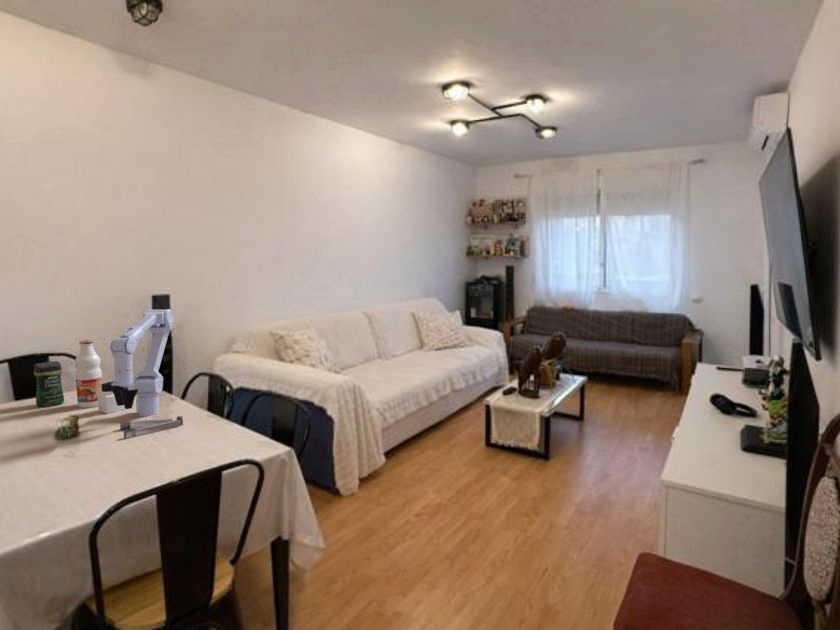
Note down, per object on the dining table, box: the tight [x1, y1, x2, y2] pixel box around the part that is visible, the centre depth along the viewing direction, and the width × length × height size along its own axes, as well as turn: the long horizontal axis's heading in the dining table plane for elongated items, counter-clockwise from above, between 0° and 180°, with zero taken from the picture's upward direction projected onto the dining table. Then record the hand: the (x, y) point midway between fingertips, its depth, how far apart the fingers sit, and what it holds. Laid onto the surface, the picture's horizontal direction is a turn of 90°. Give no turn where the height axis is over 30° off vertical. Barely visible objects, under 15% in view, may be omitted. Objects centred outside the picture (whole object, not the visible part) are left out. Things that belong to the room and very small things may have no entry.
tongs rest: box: [123, 415, 184, 440], centre depth 180 cm, size 18×22×4 cm
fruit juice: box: [74, 339, 104, 409], centre depth 212 cm, size 9×9×28 cm
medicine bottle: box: [97, 380, 126, 415], centre depth 206 cm, size 7×7×12 cm
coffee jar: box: [33, 360, 65, 408], centre depth 213 cm, size 10×8×19 cm
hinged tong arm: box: [119, 417, 174, 431], centre depth 182 cm, size 17×2×2 cm, turn 106°
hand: (124, 407), depth 183 cm, fingers open, 7 cm apart
